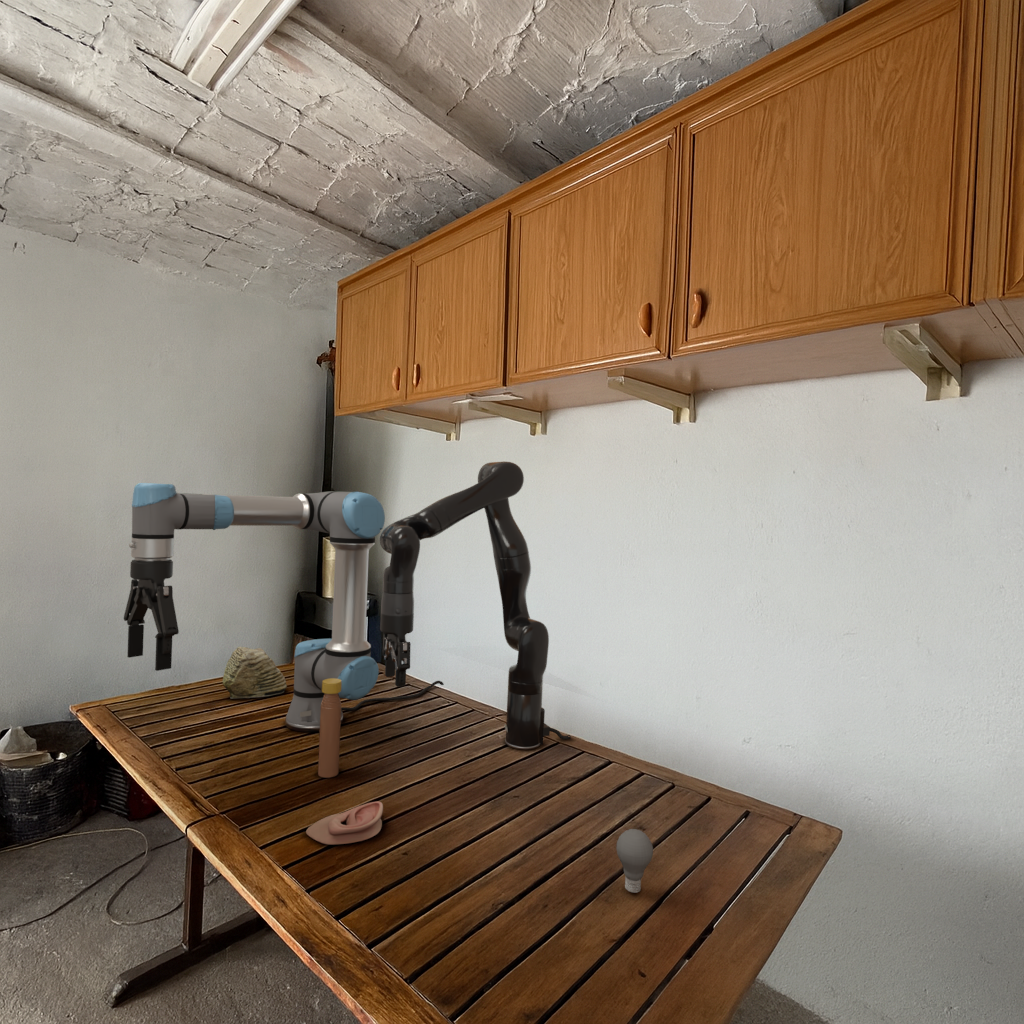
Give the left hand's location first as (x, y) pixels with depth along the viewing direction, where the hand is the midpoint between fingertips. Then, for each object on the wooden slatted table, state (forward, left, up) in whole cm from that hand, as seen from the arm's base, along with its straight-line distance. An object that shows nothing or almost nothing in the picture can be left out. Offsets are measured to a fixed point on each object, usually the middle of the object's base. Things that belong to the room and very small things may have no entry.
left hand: (148, 662), depth 129 cm
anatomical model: (-20, +40, -28) cm, 53 cm away
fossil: (-50, -47, -28) cm, 74 cm away
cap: (-33, +16, -7) cm, 37 cm away
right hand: (-43, +26, -7) cm, 51 cm away
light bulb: (-41, +90, -28) cm, 103 cm away
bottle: (-33, +16, -28) cm, 46 cm away
